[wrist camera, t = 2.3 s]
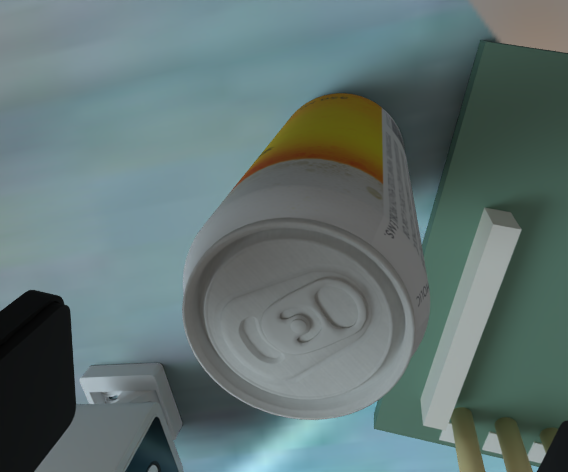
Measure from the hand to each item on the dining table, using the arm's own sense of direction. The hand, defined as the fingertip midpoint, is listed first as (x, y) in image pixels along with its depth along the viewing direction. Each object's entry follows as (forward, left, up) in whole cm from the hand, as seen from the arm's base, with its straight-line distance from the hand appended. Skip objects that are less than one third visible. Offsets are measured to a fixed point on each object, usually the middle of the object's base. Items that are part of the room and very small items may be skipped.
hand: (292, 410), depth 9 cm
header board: (+5, +12, -17) cm, 21 cm away
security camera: (+19, -10, -17) cm, 27 cm away
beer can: (0, 0, -17) cm, 17 cm away
